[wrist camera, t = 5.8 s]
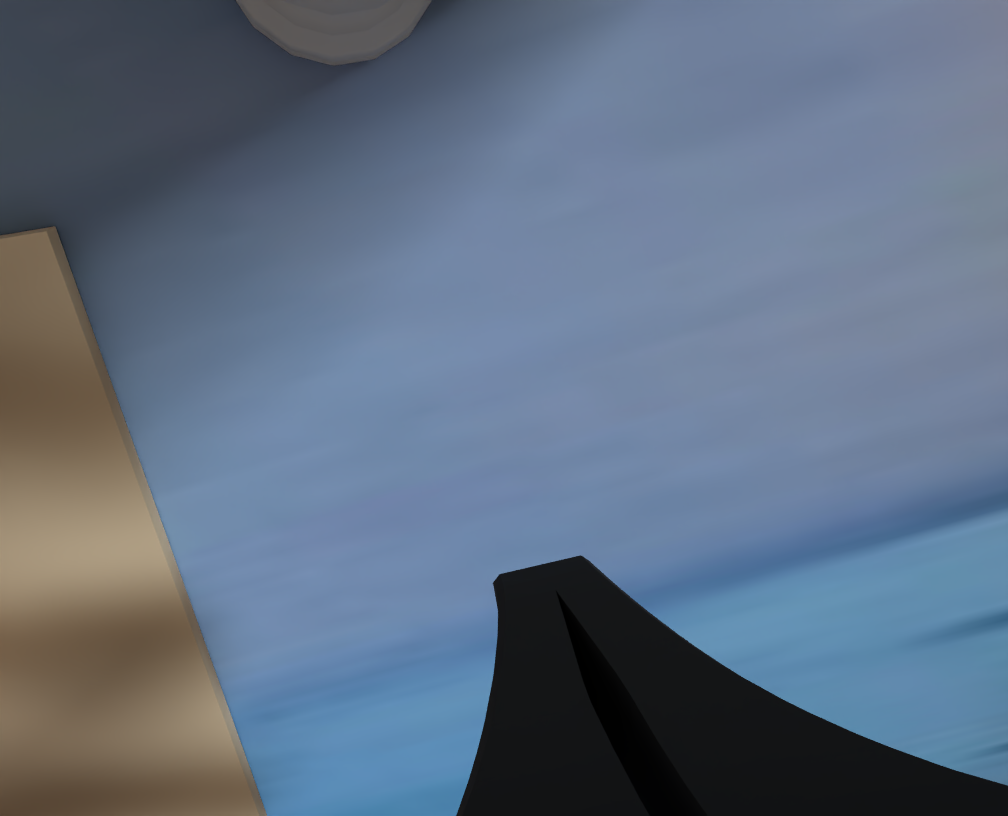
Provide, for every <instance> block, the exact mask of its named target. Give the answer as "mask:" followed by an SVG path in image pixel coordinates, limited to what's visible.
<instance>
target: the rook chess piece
mask: <svg viewBox="0 0 1008 816" xmlns="http://www.w3.org/2000/svg"><path fill="white" fill-rule="evenodd" d="M431 1H432V0H236V2H237V3H238V5H239V6H240V8H241V9H242V11H243V12H244V14H245V15H246V17H247V18H248V20H249V21H250V23H251V24H252V26H253V27H254V28H256V29H257V30H258V31H260V32H261V33H262V34H264V35H265V36H266V37H268V38H269V39H270V40H272V41H273V42H275V43H276V44H277V45H279V46H280V47H281V48H283V49H284V50H285V51H287V52H288V53H289V54H291V55H294V56H298V57H302V58H306V59H309V60H313V61H317V62H321V63H325V64H328V65H332V66H335V65H342V64H348V63H354V62H361V61H367V60H373V59H376V58H377V57H379V56H380V55H382V54H383V53H385V52H386V51H388V50H389V49H391V48H392V47H394V46H395V45H397V44H398V43H400V42H401V41H403V40H404V39H406V38H407V37H409V36H410V34H411V32H412V31H413V29H414V28H415V26H416V25H417V23H418V21H419V20H420V18H421V17H422V15H423V14H424V12H425V11H426V9H427V7H428V6H429V4H430V3H431Z"/></svg>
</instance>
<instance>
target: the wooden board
mask: <svg viewBox="0 0 1008 816" xmlns="http://www.w3.org/2000/svg"><path fill="white" fill-rule="evenodd" d="M0 816H267V814H266V811H265V809H264V806H263V803H262V800H261V797H260V795H259V792H258V789H257V786H256V784H255V781H254V778H253V775H252V772H251V770H250V767H249V764H248V761H247V758H246V756H245V753H244V750H243V747H242V745H241V742H240V739H239V736H238V733H237V731H236V728H235V725H234V722H233V720H232V717H231V714H230V711H229V708H228V706H227V703H226V700H225V697H224V694H223V692H222V689H221V686H220V683H219V681H218V678H217V675H216V672H215V669H214V667H213V664H212V661H211V658H210V656H209V653H208V650H207V647H206V644H205V642H204V639H203V636H202V633H201V630H200V628H199V625H198V622H197V619H196V617H195V614H194V611H193V608H192V605H191V603H190V600H189V597H188V594H187V592H186V589H185V586H184V583H183V580H182V578H181V575H180V572H179V569H178V566H177V564H176V561H175V558H174V555H173V553H172V550H171V547H170V544H169V541H168V539H167V536H166V533H165V530H164V528H163V525H162V522H161V519H160V516H159V514H158V511H157V508H156V505H155V502H154V500H153V497H152V494H151V491H150V489H149V486H148V483H147V480H146V477H145V475H144V472H143V469H142V466H141V464H140V461H139V458H138V455H137V452H136V450H135V447H134V444H133V441H132V439H131V436H130V433H129V430H128V427H127V425H126V422H125V419H124V416H123V413H122V411H121V408H120V405H119V402H118V400H117V397H116V394H115V391H114V388H113V386H112V383H111V380H110V377H109V375H108V372H107V369H106V366H105V363H104V361H103V358H102V355H101V352H100V349H99V347H98V344H97V341H96V338H95V336H94V333H93V330H92V327H91V324H90V322H89V319H88V316H87V313H86V311H85V308H84V305H83V302H82V299H81V297H80V294H79V291H78V288H77V285H76V283H75V280H74V277H73V274H72V272H71V269H70V266H69V263H68V260H67V258H66V255H65V252H64V249H63V247H62V244H61V241H60V238H59V235H58V233H57V230H56V227H55V226H54V227H48V228H42V229H36V230H30V231H24V232H18V233H12V234H6V235H0Z"/></svg>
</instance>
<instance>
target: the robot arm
mask: <svg viewBox="0 0 1008 816" xmlns="http://www.w3.org/2000/svg"><path fill="white" fill-rule="evenodd" d="M493 585H494V591H495V596H496V602H497V608H498V638H497V648H496V657H495V667H494V675H493V681H492V686H491V692H490V697H489V702H488V707H487V713H486V718H485V723H484V727H483V731H482V735H481V739H480V743H479V747H478V750H477V754H476V757H475V761H474V764H473V768H472V771H471V774H470V778H469V781H468V784H467V787H466V790H465V792H464V795H463V798H462V801H461V804H460V807H459V810H458V813H457V815H456V816H1008V786H1007V785H1003V784H1000V783H997V782H993V781H990V780H986V779H983V778H979V777H976V776H973V775H969V774H966V773H962V772H959V771H955V770H952V769H949V768H946V767H943V766H940V765H938V764H935V763H932V762H929V761H927V760H924V759H921V758H918V757H915V756H913V755H910V754H907V753H904V752H902V751H899V750H896V749H893V748H891V747H888V746H886V745H883V744H881V743H878V742H875V741H873V740H870V739H868V738H865V737H863V736H860V735H858V734H856V733H853V732H851V731H849V730H847V729H844V728H842V727H840V726H838V725H836V724H833V723H831V722H829V721H827V720H824V719H822V718H820V717H818V716H816V715H813V714H811V713H809V712H807V711H805V710H803V709H801V708H799V707H797V706H795V705H793V704H791V703H789V702H787V701H785V700H783V699H781V698H779V697H777V696H775V695H774V694H772V693H770V692H768V691H766V690H764V689H763V688H761V687H759V686H757V685H755V684H754V683H752V682H750V681H748V680H746V679H745V678H743V677H741V676H740V675H738V674H736V673H735V672H733V671H732V670H730V669H728V668H727V667H725V666H724V665H722V664H721V663H719V662H718V661H716V660H715V659H713V658H712V657H710V656H709V655H707V654H706V653H704V652H703V651H701V650H700V649H698V648H697V647H695V646H694V645H692V644H691V643H689V642H688V641H687V640H685V639H684V638H682V637H681V636H680V635H678V634H677V633H676V632H674V631H673V630H672V629H670V628H669V627H668V626H666V625H665V624H664V623H662V622H661V621H660V620H658V619H657V618H656V617H655V616H653V615H652V614H651V613H649V612H648V611H647V610H646V609H644V608H643V607H642V606H641V605H639V604H638V603H637V602H636V601H634V600H633V599H632V598H631V597H630V596H628V595H627V594H626V593H625V592H624V591H622V590H621V589H620V588H619V587H618V586H617V585H615V584H614V583H613V582H612V581H611V580H610V579H609V578H608V577H606V576H605V575H604V574H603V573H602V572H601V571H600V570H599V569H598V568H596V567H595V566H594V565H593V564H592V563H591V562H590V561H589V560H587V559H586V558H584V557H583V556H576V557H572V558H568V559H563V560H559V561H555V562H550V563H546V564H542V565H538V566H533V567H529V568H525V569H520V570H516V571H512V572H507V573H503V574H500V575H499V576H498V577H497V578H496V580H495V581H494V582H493Z"/></svg>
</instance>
